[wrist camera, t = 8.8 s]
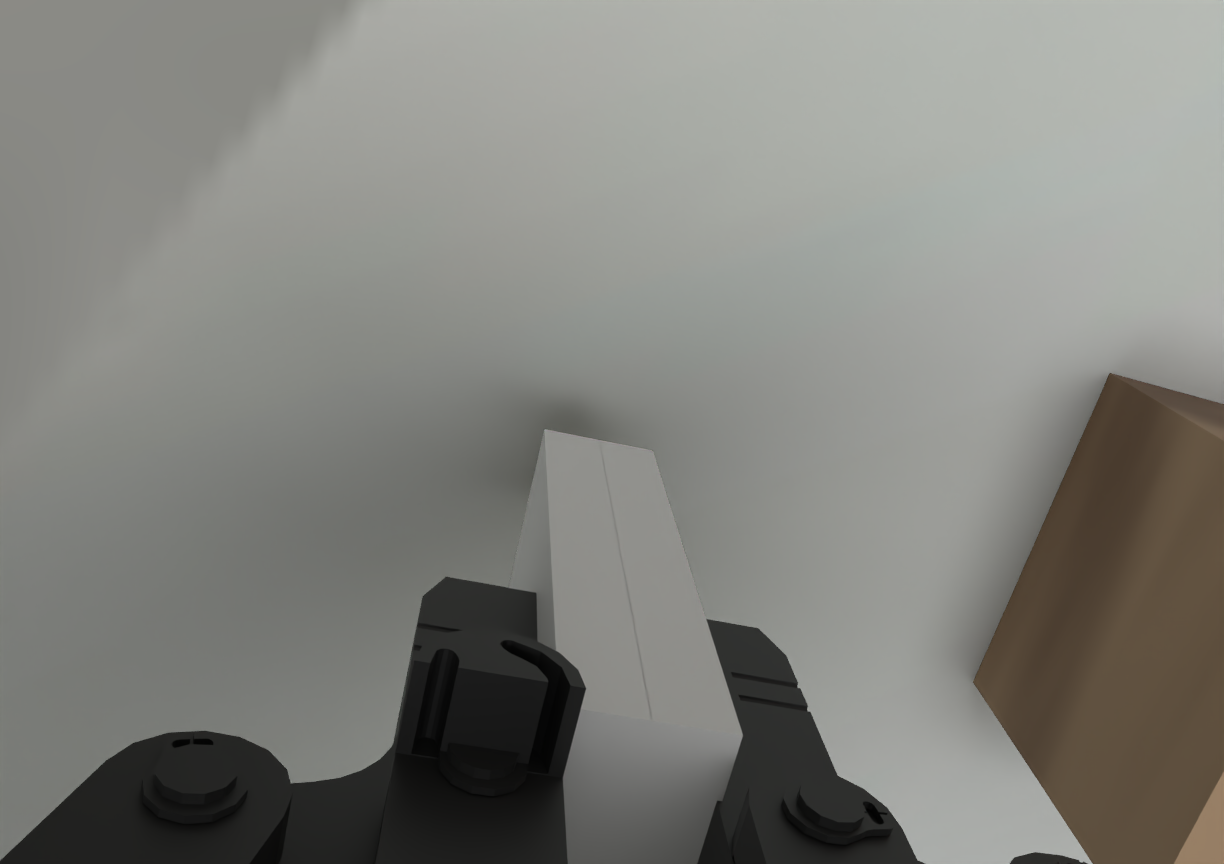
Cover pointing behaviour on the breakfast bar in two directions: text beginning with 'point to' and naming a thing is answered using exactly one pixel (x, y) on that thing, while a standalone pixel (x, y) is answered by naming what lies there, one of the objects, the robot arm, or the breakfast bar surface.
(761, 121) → the breakfast bar surface
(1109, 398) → the walnut block
